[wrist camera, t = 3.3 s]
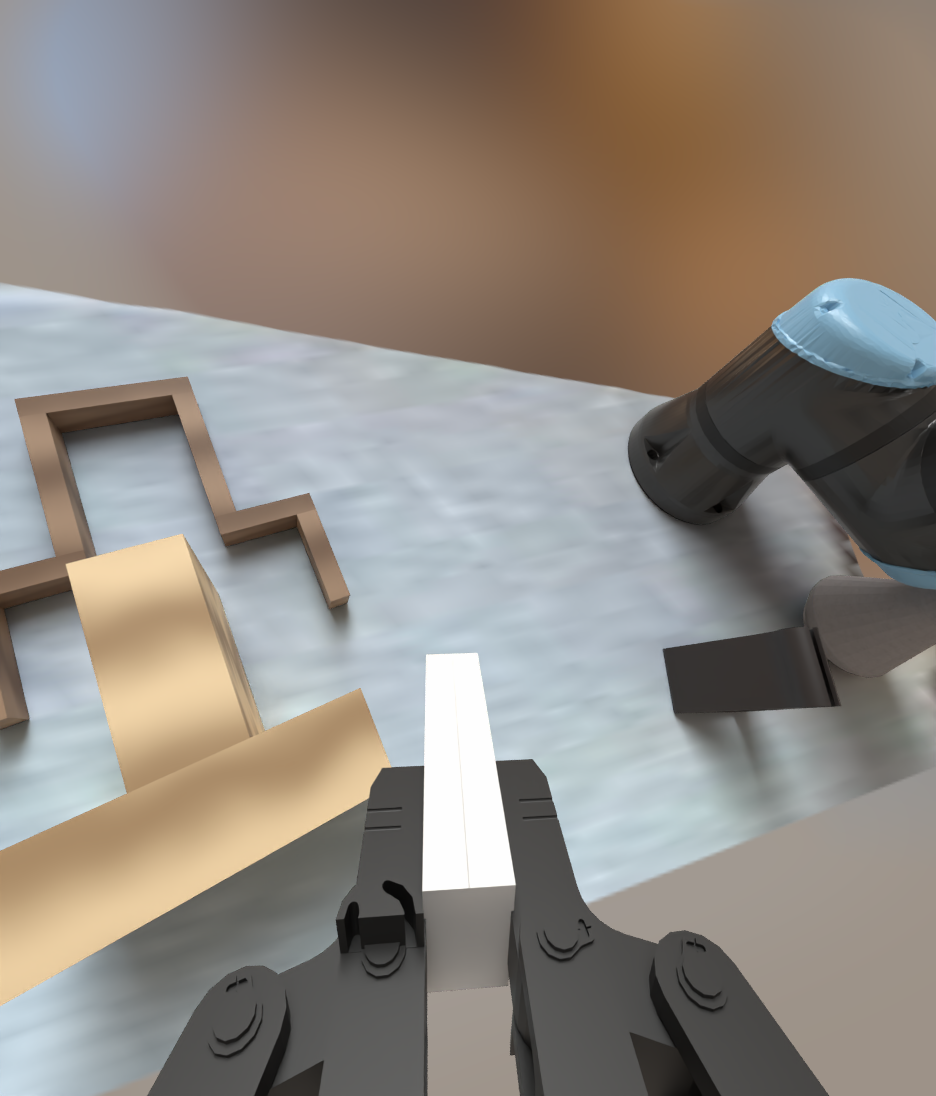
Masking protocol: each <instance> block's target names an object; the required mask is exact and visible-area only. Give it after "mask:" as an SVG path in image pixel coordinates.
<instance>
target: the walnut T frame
mask: <svg viewBox="0 0 936 1096" xmlns="http://www.w3.org/2000/svg"><path fill="white" fill-rule="evenodd" d="M15 403H16V407H17V411H18V414H19V418H20V422H21V426H22V430H23V433H24V437H25V441H26V445H27V449H28V452H29V456H30V460H31V464H32V468H33V471H34V475H35V479H36V483H37V487H38V490H39V494H40V498H41V502H42V505H43V509H44V513H45V517H46V521H47V524H48V528H49V532H50V536H51V540H52V543H53V547H54V551H55V555H56V557H53V558H49V559H45V560H41V561H37V562H33V563H29V564H25V565H21V566H17V567H13V568H9V569H5V570H2V571H0V730H1V729H4V728H6V727H9V726H12V725H15V724H17V723H20V722H23V721H25V720H28V719H29V715H28V710H27V706H26V702H25V697H24V693H23V689H22V684H21V680H20V676H19V672H18V667H17V663H16V659H15V654H14V650H13V646H12V641H11V637H10V633H9V628H8V624H7V620H6V616H5V611H4V609H5V608H9V607H13V606H16V605H20V604H23V603H27V602H30V601H34V600H38V599H41V598H45V597H48V596H52V595H55V594H59V593H63V592H66V591H70V590H72V586H71V582H70V579H69V575H68V571H67V567H66V564H68V563H72V562H75V561H79V560H83V559H87V558H91V557H95V556H96V552H95V548H94V545H93V541H92V538H91V534H90V531H89V527H88V524H87V520H86V517H85V513H84V510H83V506H82V503H81V499H80V496H79V492H78V489H77V485H76V482H75V478H74V475H73V471H72V467H71V464H70V460H69V457H68V453H67V450H66V446H65V443H64V439H63V436H62V433H64V432H71V431H77V430H83V429H89V428H96V427H102V426H108V425H114V424H121V423H127V422H133V421H139V420H146V419H152V418H158V417H164V416H171V415H177V414H179V416H180V419H181V422H182V425H183V428H184V431H185V434H186V437H187V439H188V442H189V445H190V448H191V451H192V454H193V457H194V459H195V462H196V465H197V468H198V471H199V474H200V477H201V480H202V482H203V485H204V488H205V491H206V494H207V497H208V500H209V502H210V505H211V508H212V511H213V514H214V517H215V520H216V522H217V525H218V528H219V531H220V534H221V537H222V539H223V541H224V544H225V546H226V547H227V546H231V545H234V544H238V543H241V542H245V541H248V540H252V539H256V538H259V537H263V536H266V535H270V534H273V533H277V532H281V531H284V530H288V529H291V528H295V527H297V528H298V531H299V533H300V536H301V538H302V541H303V544H304V546H305V549H306V551H307V554H308V556H309V559H310V562H311V564H312V567H313V569H314V572H315V574H316V577H317V580H318V582H319V585H320V587H321V590H322V593H323V595H324V598H325V600H326V603H327V605H328V608H329V609H332V608H334V607H337V606H340V605H343V604H345V603H347V602H348V599H349V596H350V593H349V591H348V588H347V586H346V583H345V581H344V578H343V576H342V573H341V571H340V568H339V566H338V563H337V561H336V558H335V556H334V553H333V551H332V548H331V546H330V543H329V541H328V538H327V536H326V533H325V531H324V529H323V526H322V524H321V521H320V519H319V516H318V514H317V511H316V509H315V506H314V504H313V501H312V499H311V496H310V494H309V493H307V494H303V495H299V496H295V497H291V498H288V499H284V500H280V501H276V502H272V503H268V504H264V505H260V506H256V507H252V508H248V509H244V510H240V511H236V509H235V507H234V504H233V501H232V498H231V496H230V493H229V490H228V487H227V485H226V482H225V479H224V476H223V473H222V471H221V468H220V465H219V462H218V460H217V457H216V454H215V451H214V449H213V446H212V443H211V440H210V437H209V435H208V432H207V429H206V426H205V424H204V421H203V418H202V415H201V413H200V410H199V407H198V404H197V401H196V399H195V396H194V393H193V390H192V388H191V385H190V382H189V379H188V377H181V378H173V379H166V380H158V381H150V382H142V383H135V384H127V385H119V386H112V387H104V388H96V389H89V390H81V391H73V392H66V393H58V394H50V395H42V396H35V397H27V398H19V399H15Z"/></svg>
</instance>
